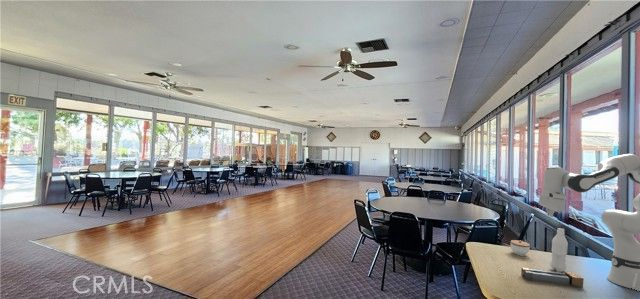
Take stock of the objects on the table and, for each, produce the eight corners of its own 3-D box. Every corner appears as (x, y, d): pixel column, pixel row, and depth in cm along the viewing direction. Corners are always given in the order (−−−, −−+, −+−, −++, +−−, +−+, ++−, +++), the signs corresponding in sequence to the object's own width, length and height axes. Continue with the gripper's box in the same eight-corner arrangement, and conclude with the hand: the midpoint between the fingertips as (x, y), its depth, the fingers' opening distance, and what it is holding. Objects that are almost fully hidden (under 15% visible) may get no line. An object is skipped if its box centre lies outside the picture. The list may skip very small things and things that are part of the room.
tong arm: (564, 280, 156) (565, 272, 155) (567, 282, 153) (568, 274, 153) (521, 274, 160) (521, 267, 160) (523, 276, 157) (523, 269, 157)
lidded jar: (506, 250, 197) (507, 237, 197) (520, 251, 198) (521, 237, 197) (517, 257, 186) (518, 243, 186) (533, 257, 187) (534, 243, 187)
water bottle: (568, 274, 164) (572, 231, 163) (554, 272, 165) (557, 230, 164) (560, 269, 171) (564, 227, 170) (547, 267, 172) (550, 226, 171)
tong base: (574, 281, 155) (574, 272, 155) (582, 287, 148) (583, 278, 148) (520, 274, 161) (520, 265, 161) (526, 280, 154) (527, 271, 154)
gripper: (536, 190, 182) (535, 211, 183) (555, 195, 162) (553, 219, 163) (548, 190, 181) (546, 212, 181) (568, 196, 161) (566, 221, 161)
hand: (550, 216), depth 172 cm, fingers closed
